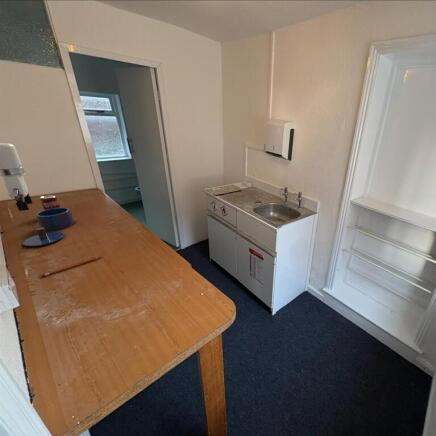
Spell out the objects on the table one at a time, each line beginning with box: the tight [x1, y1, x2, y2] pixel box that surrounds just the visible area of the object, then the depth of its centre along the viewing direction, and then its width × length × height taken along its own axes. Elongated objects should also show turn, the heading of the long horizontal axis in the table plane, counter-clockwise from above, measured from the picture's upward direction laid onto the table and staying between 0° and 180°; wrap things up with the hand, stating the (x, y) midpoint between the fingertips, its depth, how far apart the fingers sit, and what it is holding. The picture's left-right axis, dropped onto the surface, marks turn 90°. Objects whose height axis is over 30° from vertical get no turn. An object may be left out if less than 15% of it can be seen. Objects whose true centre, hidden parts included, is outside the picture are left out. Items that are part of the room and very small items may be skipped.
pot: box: [35, 207, 75, 232], centre depth 132 cm, size 14×14×8 cm
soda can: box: [39, 194, 61, 211], centre depth 145 cm, size 7×7×12 cm
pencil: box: [42, 257, 99, 278], centre depth 100 cm, size 1×19×1 cm, turn 139°
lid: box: [22, 227, 65, 248], centre depth 117 cm, size 15×15×7 cm
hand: (26, 206), depth 112 cm, fingers open, 9 cm apart
